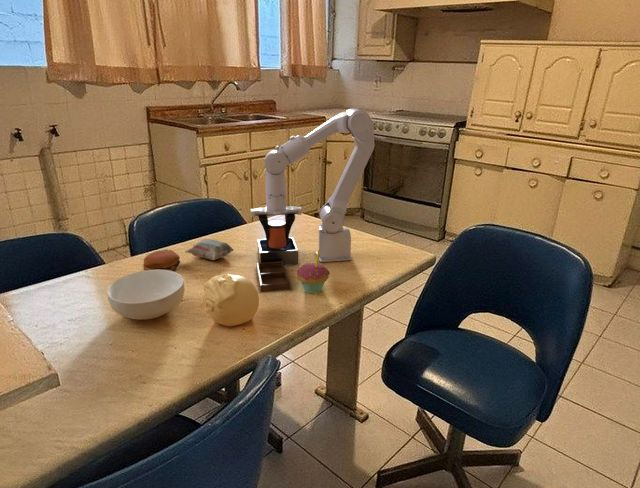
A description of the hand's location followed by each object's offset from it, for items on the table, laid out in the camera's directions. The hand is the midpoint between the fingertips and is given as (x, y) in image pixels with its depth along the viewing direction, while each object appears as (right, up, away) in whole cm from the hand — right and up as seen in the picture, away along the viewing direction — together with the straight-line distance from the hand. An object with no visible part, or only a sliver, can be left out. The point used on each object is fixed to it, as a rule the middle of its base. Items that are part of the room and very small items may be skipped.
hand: (277, 238), depth 135 cm
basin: (0, -6, +2) cm, 6 cm away
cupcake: (+11, -14, -16) cm, 24 cm away
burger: (-32, -9, -5) cm, 34 cm away
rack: (0, -11, -11) cm, 16 cm away
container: (0, -2, +1) cm, 2 cm away
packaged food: (-21, -6, +3) cm, 22 cm away
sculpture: (-7, -19, -31) cm, 37 cm away
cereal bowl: (-27, -18, -28) cm, 43 cm away
